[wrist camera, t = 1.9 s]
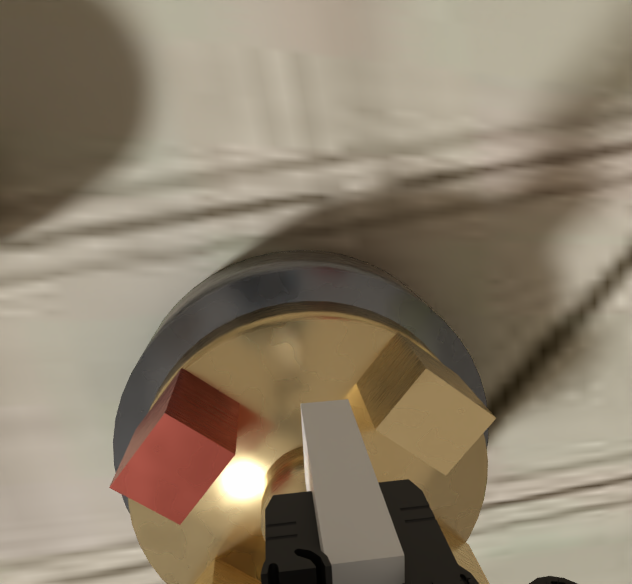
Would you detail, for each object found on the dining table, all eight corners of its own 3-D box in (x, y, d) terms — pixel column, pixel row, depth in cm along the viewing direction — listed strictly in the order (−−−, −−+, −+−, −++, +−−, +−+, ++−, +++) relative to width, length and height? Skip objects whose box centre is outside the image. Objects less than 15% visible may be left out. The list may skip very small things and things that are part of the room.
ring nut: (272, 231, 24) (277, 262, 17) (526, 416, 28) (611, 499, 21) (77, 497, 26) (14, 615, 20) (336, 630, 30) (357, 767, 24)
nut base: (264, 179, 28) (265, 185, 23) (517, 370, 33) (562, 408, 28) (71, 447, 31) (35, 503, 26) (329, 586, 36) (340, 656, 31)
